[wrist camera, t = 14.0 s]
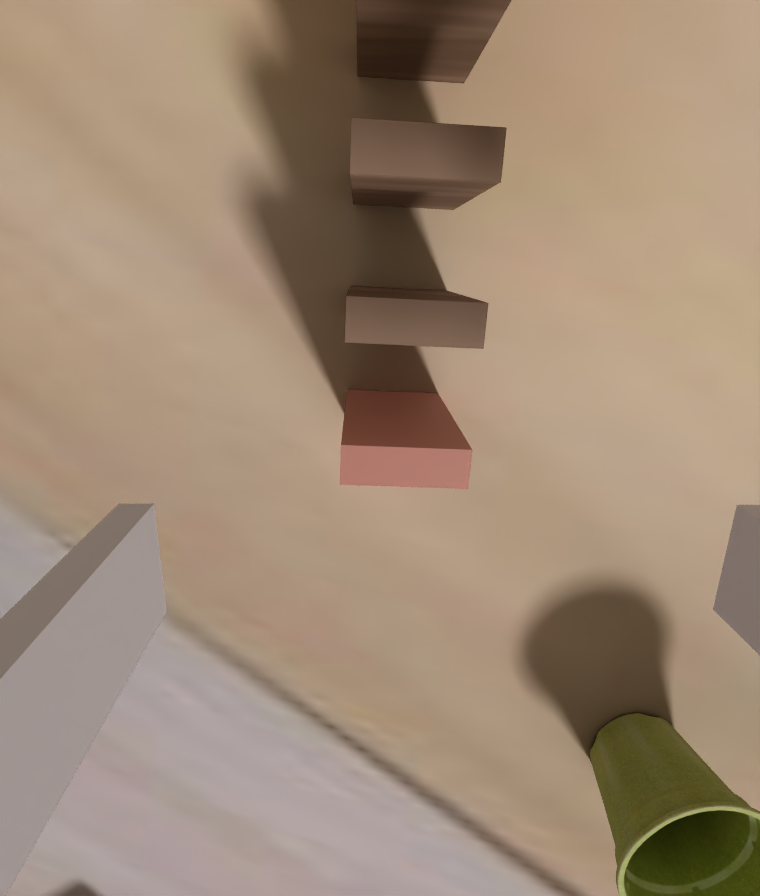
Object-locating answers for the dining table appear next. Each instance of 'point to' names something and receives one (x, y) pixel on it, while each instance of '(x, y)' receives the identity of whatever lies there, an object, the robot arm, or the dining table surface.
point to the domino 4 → (402, 441)
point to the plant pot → (672, 815)
